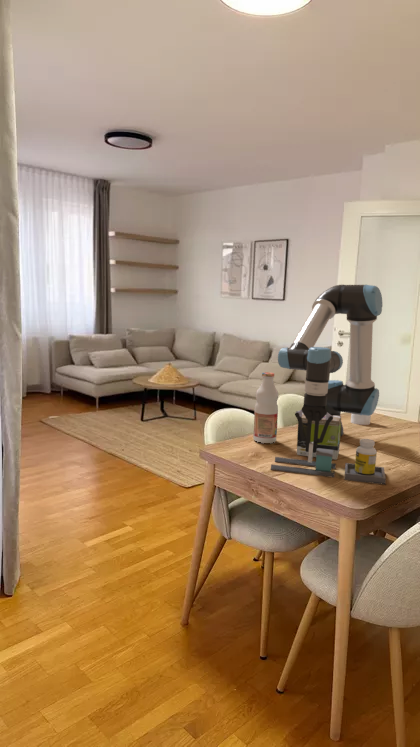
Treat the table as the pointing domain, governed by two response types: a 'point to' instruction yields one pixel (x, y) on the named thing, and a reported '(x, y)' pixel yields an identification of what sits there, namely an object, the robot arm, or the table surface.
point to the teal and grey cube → (324, 459)
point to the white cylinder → (360, 419)
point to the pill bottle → (365, 458)
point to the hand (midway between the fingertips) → (310, 461)
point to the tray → (351, 475)
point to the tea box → (330, 437)
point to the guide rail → (301, 470)
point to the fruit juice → (266, 410)
